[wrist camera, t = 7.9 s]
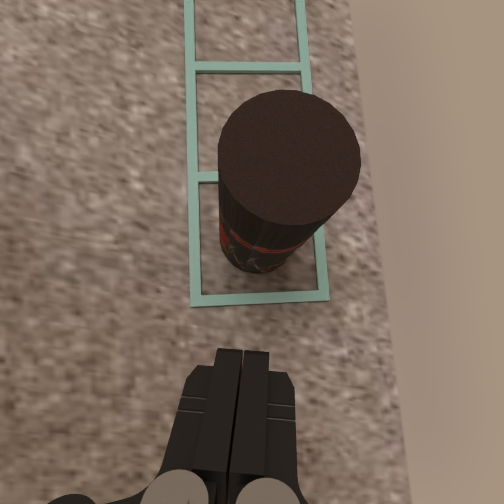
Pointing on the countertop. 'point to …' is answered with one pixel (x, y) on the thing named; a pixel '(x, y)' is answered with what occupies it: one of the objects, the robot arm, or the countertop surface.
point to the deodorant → (281, 175)
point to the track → (212, 177)
